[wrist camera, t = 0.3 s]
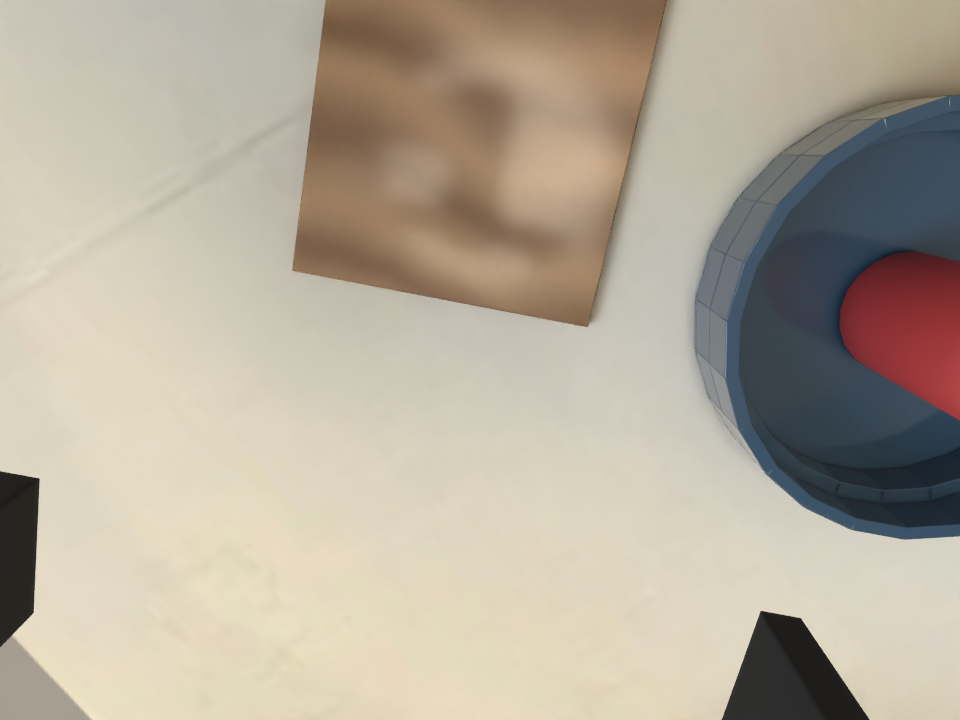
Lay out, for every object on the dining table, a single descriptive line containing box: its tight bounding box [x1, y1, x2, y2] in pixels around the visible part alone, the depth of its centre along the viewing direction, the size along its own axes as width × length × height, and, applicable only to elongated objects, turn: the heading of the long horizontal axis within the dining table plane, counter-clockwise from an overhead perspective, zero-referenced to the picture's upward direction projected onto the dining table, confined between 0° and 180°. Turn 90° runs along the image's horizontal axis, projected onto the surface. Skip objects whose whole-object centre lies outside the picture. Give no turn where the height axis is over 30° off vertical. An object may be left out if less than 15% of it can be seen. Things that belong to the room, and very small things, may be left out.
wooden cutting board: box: [292, 0, 667, 327], centre depth 37 cm, size 22×16×1 cm
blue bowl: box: [695, 95, 960, 539], centre depth 37 cm, size 21×21×6 cm
